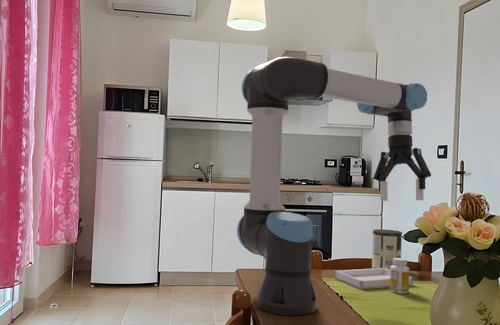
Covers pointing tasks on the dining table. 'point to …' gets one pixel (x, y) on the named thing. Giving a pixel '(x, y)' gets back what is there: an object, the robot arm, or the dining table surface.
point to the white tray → (367, 278)
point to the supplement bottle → (399, 276)
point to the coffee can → (385, 248)
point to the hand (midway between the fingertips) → (401, 200)
